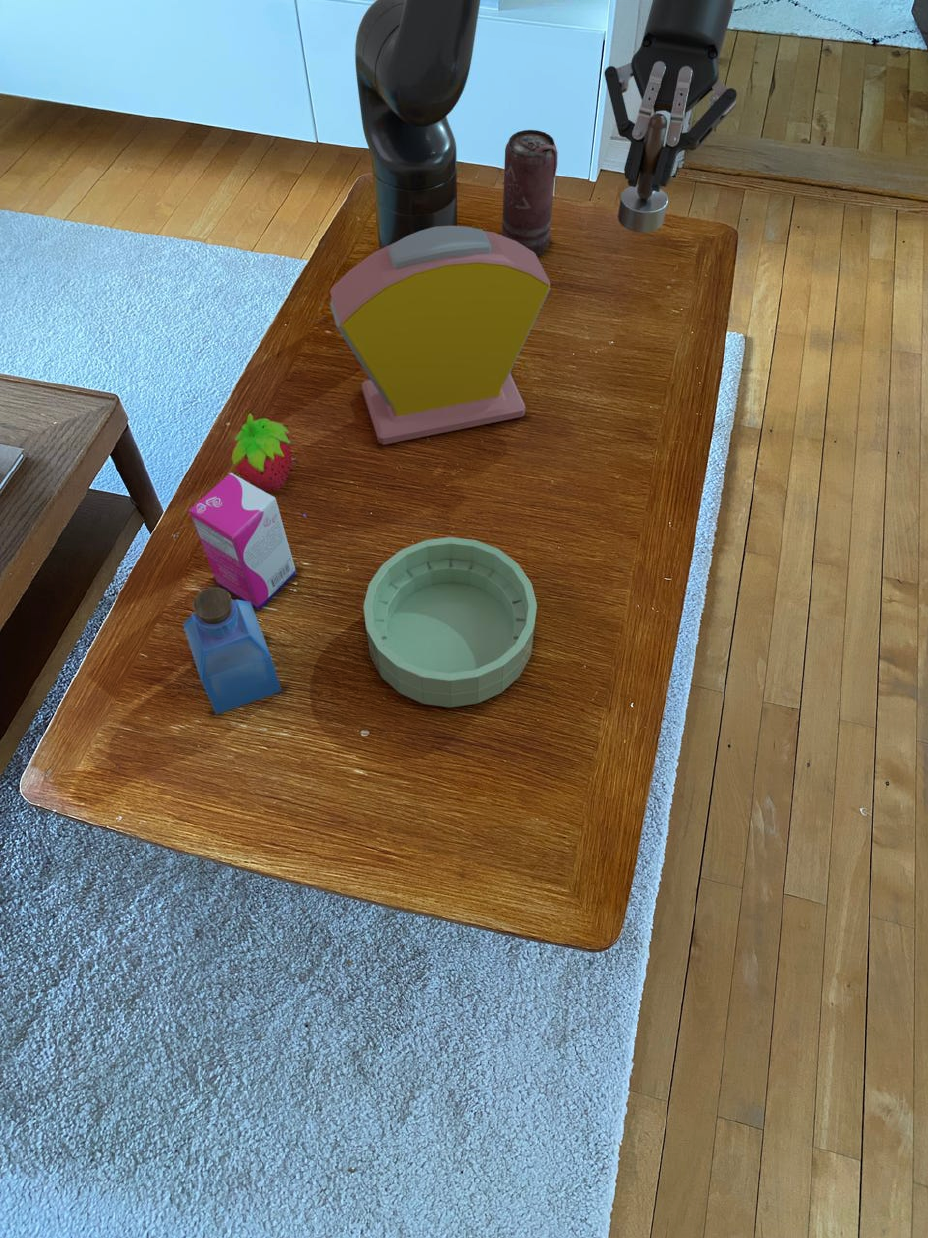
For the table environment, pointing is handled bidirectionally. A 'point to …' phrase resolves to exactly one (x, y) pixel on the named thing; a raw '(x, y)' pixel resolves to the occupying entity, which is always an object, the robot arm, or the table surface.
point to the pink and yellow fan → (440, 328)
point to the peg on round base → (646, 185)
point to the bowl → (450, 621)
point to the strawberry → (262, 453)
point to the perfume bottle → (229, 650)
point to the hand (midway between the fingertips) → (643, 186)
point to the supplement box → (244, 540)
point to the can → (529, 189)
